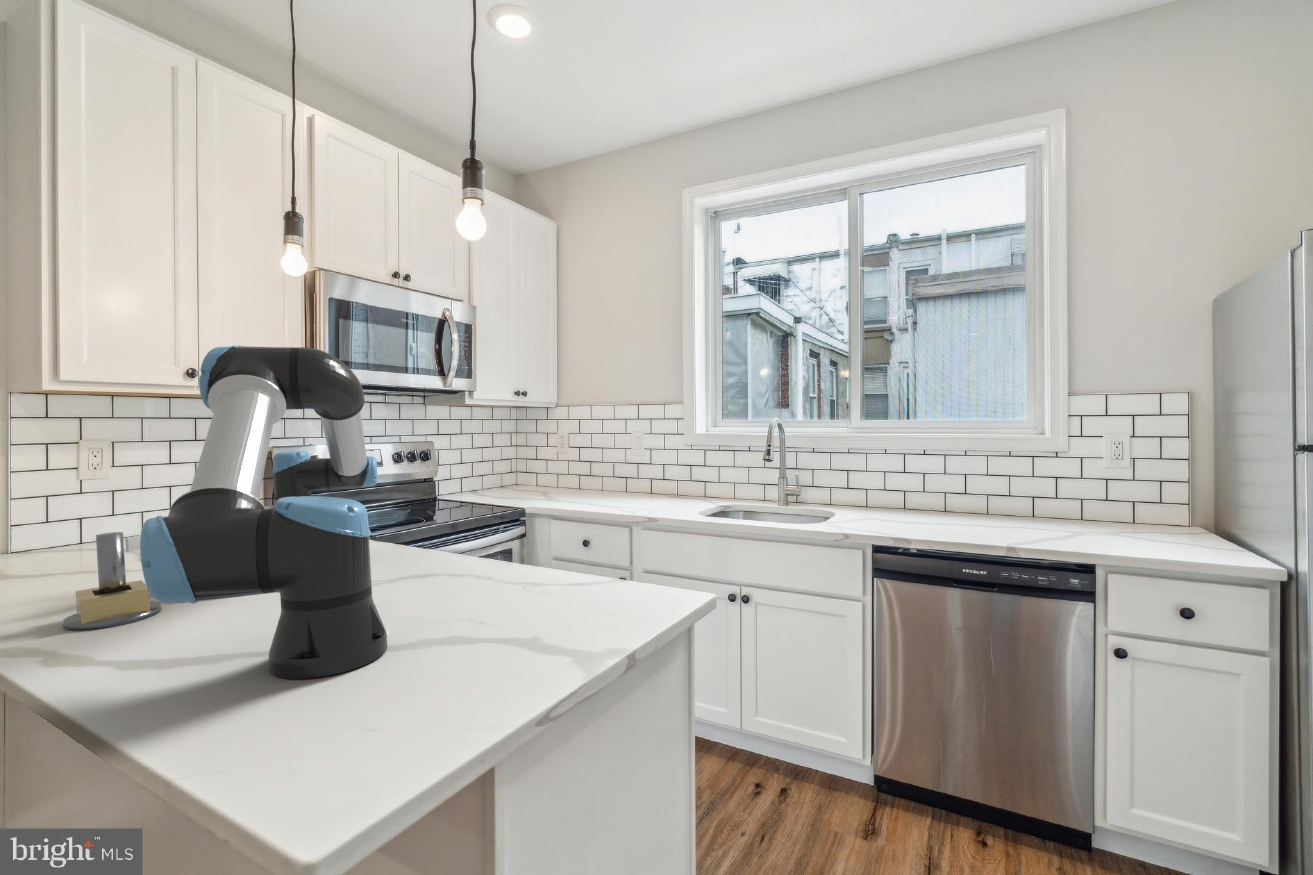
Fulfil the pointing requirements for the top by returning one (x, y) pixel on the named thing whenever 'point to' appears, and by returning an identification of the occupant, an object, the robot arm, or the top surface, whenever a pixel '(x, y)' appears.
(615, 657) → the top surface
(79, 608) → the socket
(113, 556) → the pin
